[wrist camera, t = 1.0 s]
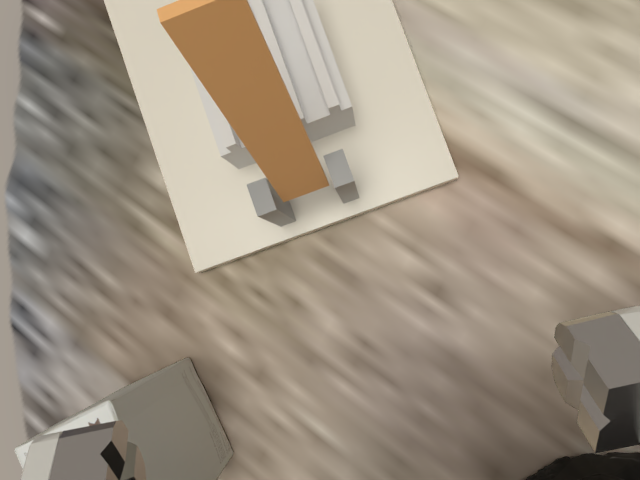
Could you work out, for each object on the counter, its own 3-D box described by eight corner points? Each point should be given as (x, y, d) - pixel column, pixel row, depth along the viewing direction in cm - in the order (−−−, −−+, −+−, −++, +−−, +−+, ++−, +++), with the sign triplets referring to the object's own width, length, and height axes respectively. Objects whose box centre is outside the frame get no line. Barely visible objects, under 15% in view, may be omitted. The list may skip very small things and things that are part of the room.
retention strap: (326, 177, 37) (329, 185, 37) (280, 193, 38) (283, 202, 37) (236, -24, 21) (241, -10, 21) (156, 9, 21) (160, 22, 21)
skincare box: (124, 387, 46) (1, 442, 31) (195, 353, 45) (104, 392, 31) (169, 491, 45) (66, 598, 30) (242, 458, 45) (173, 550, 30)
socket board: (353, -92, 46) (344, -203, 35) (456, 179, 44) (479, 150, 33) (111, 6, 48) (32, -72, 37) (201, 272, 46) (146, 272, 35)
